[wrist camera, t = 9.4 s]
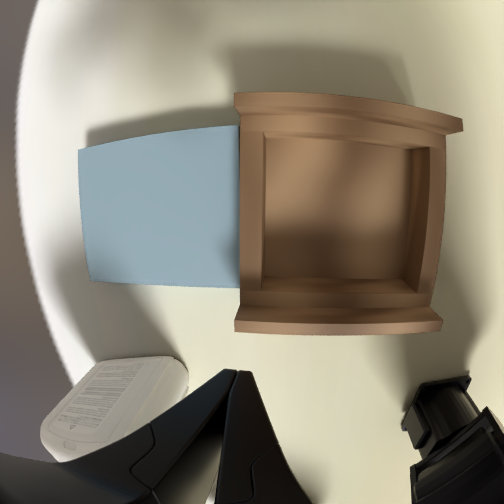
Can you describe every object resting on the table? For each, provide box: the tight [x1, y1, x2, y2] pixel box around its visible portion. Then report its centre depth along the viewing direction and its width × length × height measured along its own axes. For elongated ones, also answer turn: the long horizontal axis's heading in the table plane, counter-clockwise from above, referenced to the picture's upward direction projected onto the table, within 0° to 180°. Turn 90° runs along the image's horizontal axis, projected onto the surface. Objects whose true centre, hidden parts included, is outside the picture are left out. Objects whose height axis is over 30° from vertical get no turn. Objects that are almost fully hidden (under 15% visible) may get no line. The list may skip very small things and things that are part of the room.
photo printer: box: [40, 356, 189, 462], centre depth 17 cm, size 10×4×12 cm, turn 106°
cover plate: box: [78, 125, 240, 288], centre depth 19 cm, size 12×10×2 cm
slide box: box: [234, 92, 463, 335], centre depth 15 cm, size 12×12×6 cm
